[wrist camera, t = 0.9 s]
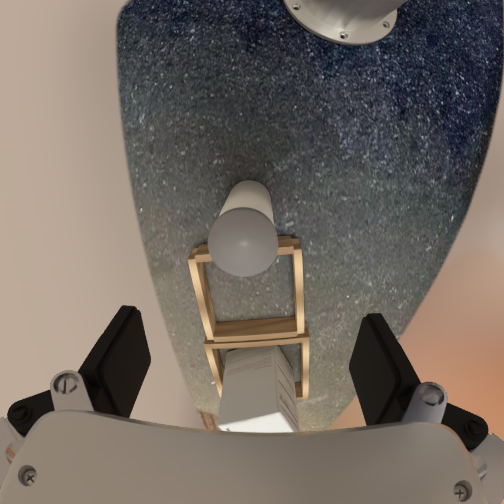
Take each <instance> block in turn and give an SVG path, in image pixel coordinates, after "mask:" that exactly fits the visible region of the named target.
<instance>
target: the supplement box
mask: <svg viewBox="0 0 504 504" xmlns="http://www.w3.org/2000/svg"><path fill="white" fill-rule="evenodd" d="M217 426H218V427H219V428H220V429H221V430H222V431H233V432H264V433H276V432H300V431H299V421H298V412H297V403H296V393H295V384H294V374H293V369H292V367H291V366H290V364H289V362H288V360H287V359H286V357H285V355H284V354H283V352H282V350H281V348H280V347H279V345H272V346H259V347H243V348H238V349H235V350H232V351H229V352H227V354H226V361H225V369H224V377H223V385H222V393H221V401H220V408H219V417H218V425H217Z"/></svg>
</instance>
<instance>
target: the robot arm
mask: <svg viewBox="0 0 504 504" xmlns="http://www.w3.org/2000/svg"><path fill="white" fill-rule="evenodd" d="M406 1H408V0H283V2H284V4H285V6H286V9H287V10H288V12H289V13H290V14H291V16H292V17H293V18H294V19H295V20H296V21H297V22H298V23H299V24H300V25H301V26H302V27H304V28H305V29H307V30H308V31H309V32H311V33H313V34H314V35H316V36H318V37H320V38H322V39H325V40H328V41H330V42H333V43H338V44H342V45H352V46H358V45H367V44H370V43H374V42H376V41H378V40H380V39H382V38H383V37H384V36H386V35H387V34H388V33H389V32H390V31H391V30H392V29H393V27H394V24H395V22H396V18H397V8H398V7H399V6H401V5H402V4H404V3H405V2H406ZM294 8H296V9H298V10H294ZM340 36H342V37H343V38H344V39H342V38H341V37H340ZM150 363H151V356H150V352H149V348H148V344H147V340H146V335H145V331H144V326H143V322H142V317H141V313H140V311H139V310H137V308H136V307H135V306H126V305H123V306H121V308H120V309H119V311H118V312H117V314H116V315H115V316H114V318H113V319H112V321H111V322H110V324H109V325H108V327H107V328H106V330H105V331H104V333H103V334H102V335H101V336H100V338H99V339H98V341H97V342H96V344H95V345H94V347H93V348H92V350H91V352H90V353H89V355H88V356H87V358H86V359H85V361H84V362H83V364H82V366H81V367H80V369H79V370H78V372H76V371H72V370H66V371H62V372H60V373H58V374H56V375H55V376H54V377H53V379H52V380H51V383H50V390H47V391H45V392H42V393H39V394H36V395H34V396H31V397H28V398H25V399H22V400H19V401H17V402H15V403H14V404H13V405H11V407H10V408H9V410H8V413H7V416H8V417H7V418H6V419H5V418H4V417H2V418H0V504H500V503H501V502H502V500H503V499H504V441H503V440H501V439H500V438H499V437H498V436H496V435H495V434H494V433H492V434H491V435H489V433H488V425H487V423H486V422H485V420H484V419H483V418H481V417H479V416H477V415H475V414H473V413H470V412H468V411H466V410H463V409H461V408H459V407H457V406H454V405H452V404H450V403H447V398H448V396H447V393H446V392H445V390H444V388H443V387H441V386H440V385H438V384H436V383H433V382H424V383H421V382H420V380H419V378H418V376H417V374H416V372H415V371H414V369H413V367H412V365H411V363H410V361H409V360H408V358H407V356H406V354H405V352H404V351H403V349H402V347H401V345H400V344H399V343H398V341H397V340H396V338H395V336H394V334H393V333H392V331H391V329H390V328H389V326H388V324H387V322H386V321H385V319H384V317H383V316H382V314H381V313H372V314H367V316H366V317H363V319H362V322H361V326H360V329H359V333H358V336H357V340H356V343H355V347H354V350H353V353H352V357H351V360H350V363H349V370H350V374H351V377H352V380H353V383H354V386H355V389H356V392H357V396H358V399H359V402H360V405H361V409H362V412H363V415H364V418H365V421H366V425H367V426H364V427H355V428H345V429H336V430H324V431H309V432H276V433H264V432H233V431H217V430H206V429H195V428H187V427H179V426H172V425H164V424H158V423H152V422H147V421H141V420H136V419H130V418H129V417H130V414H131V411H132V409H133V406H134V404H135V401H136V399H137V396H138V393H139V391H140V388H141V386H142V383H143V381H144V378H145V376H146V373H147V371H148V368H149V366H150Z"/></svg>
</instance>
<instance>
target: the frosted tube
mask: <svg viewBox="0 0 504 504" xmlns="http://www.w3.org/2000/svg"><path fill="white" fill-rule="evenodd" d="M208 250H209V253H210V256H211V258H212V260H213V261H214V263H215V264H216V265H217V266H218V267H219V268H220V269H222V270H223V271H225V272H226V273H228V274H231V275H234V276H240V277H247V276H253V275H256V274H259V273H261V272H263V271H264V270H266V269H267V268H268V267H269V266H270V265H271V264H272V263H273V261H274V259H275V257H276V255H277V252H278V237H277V232H276V229H275V226H274V219H273V212H272V205H271V198H270V194H269V192H268V190H267V189H266V187H265V186H264V185H262V184H261V183H259V182H257V181H253V180H246V181H242V182H240V183H238V184H236V185H235V186H234V187H233V188H232V190H231V192H230V194H229V196H228V198H227V200H226V202H225V204H224V206H223V208H222V210H221V213H220V215H219V217H218V218H217V220H216V221H215V222H214V224H213V226H212V228H211V231H210V233H209V237H208Z"/></svg>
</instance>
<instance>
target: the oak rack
mask: <svg viewBox="0 0 504 504" xmlns="http://www.w3.org/2000/svg"><path fill="white" fill-rule="evenodd" d="M285 254H292V264H293V282H294V303H295V316H293V317H283V318H272V319H259V320H245V321H230V322H216V318H215V314H214V309H213V305H212V300H211V296H210V291H209V286H208V282H207V277H206V272H205V267H204V262H208V261H213V260H212V258H211V256H210V253H209V250H208V244H200V245H199V247H198V248H194V249H193V251H192V253H191V254H190V256H189V258H188V263H189V268H190V272H191V276H192V281H193V285H194V289H195V293H196V297H197V301H198V305H199V309H200V313H201V317H202V321H203V325H204V329H205V333H206V338H205V342H204V346H205V350H206V353H207V357H208V360H209V363H210V367H211V370H212V373H213V376H214V380H215V383H216V386H217V389H218V392H219V395H220V398H221V393H222V385H223V377H224V368H223V365H222V361H221V357H220V353H219V349H221V348H243V347H259V346H272V345H284V344H294V343H300V344H301V382H299V383H294V384H295V393H296V401H298V400H308V384H309V333H308V328H307V323H306V322H304V295H303V267H302V249H301V245H300V242H299V239H298V238H296V239H291V236H280V237H278V252H277V255H285Z"/></svg>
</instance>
